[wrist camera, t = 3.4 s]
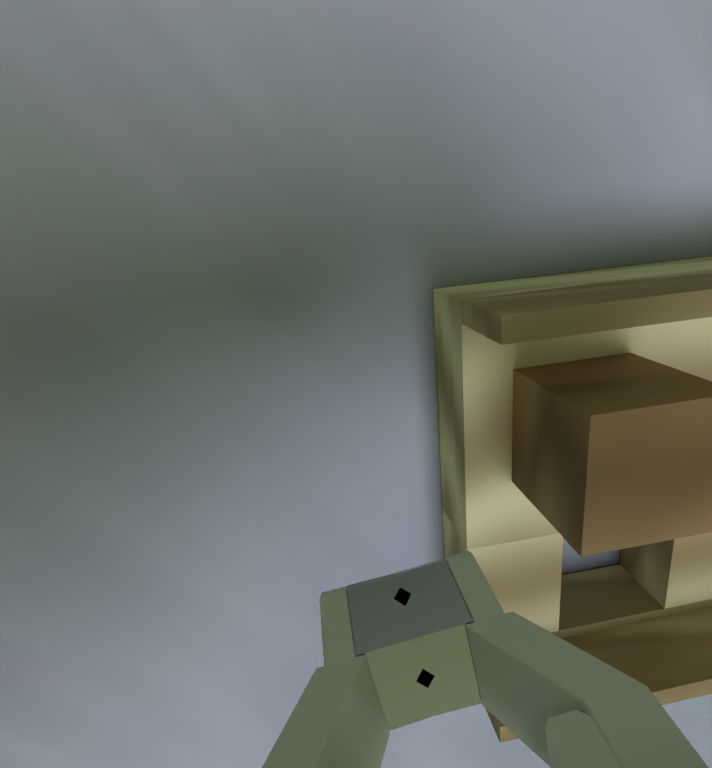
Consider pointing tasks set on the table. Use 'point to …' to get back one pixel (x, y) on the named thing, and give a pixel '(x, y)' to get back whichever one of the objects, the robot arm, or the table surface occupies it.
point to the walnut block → (614, 450)
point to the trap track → (513, 509)
